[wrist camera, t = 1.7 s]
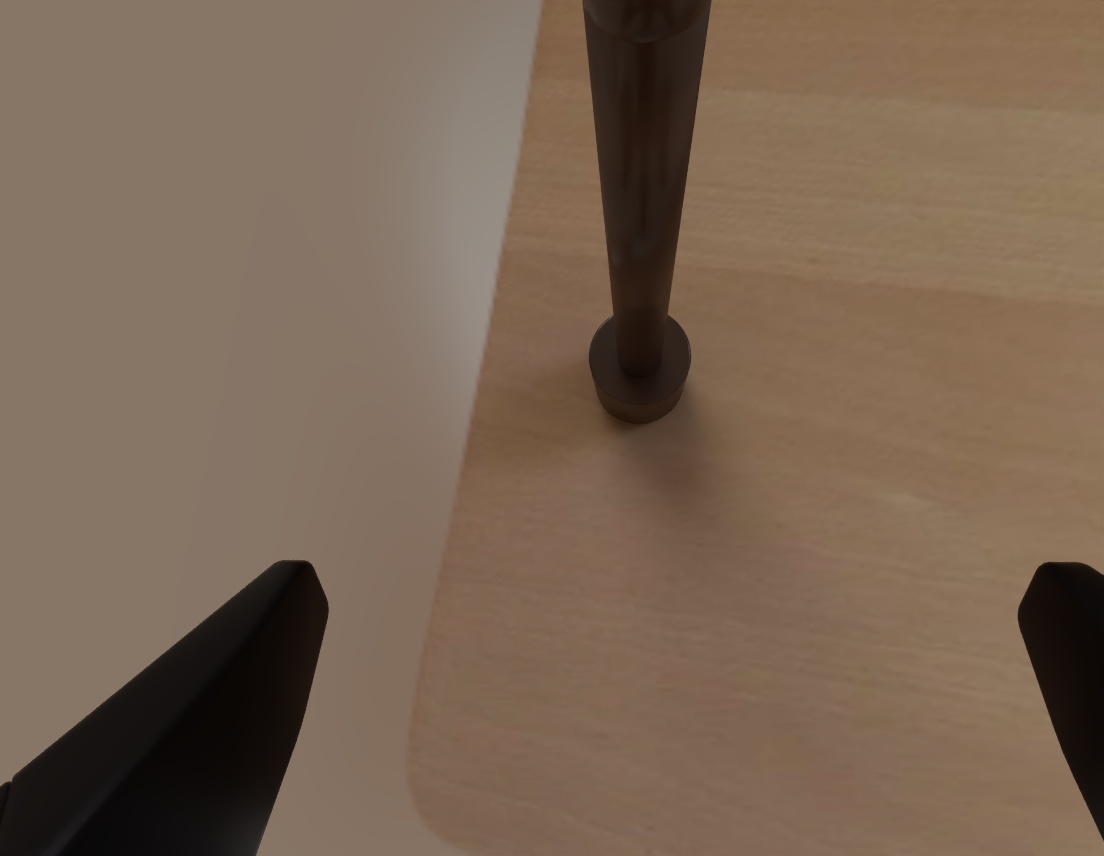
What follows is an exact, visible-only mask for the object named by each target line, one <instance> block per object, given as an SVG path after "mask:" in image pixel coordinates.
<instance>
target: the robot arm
mask: <svg viewBox="0 0 1104 856" xmlns="http://www.w3.org/2000/svg"><path fill="white" fill-rule="evenodd" d="M328 612H329V608H328V601H327V598H326V595H325V593H324V591H323V588H322V586H321V584H320V581H319V579H318V577H317V574H316V572H315V569H314V568H313V566H312V564H311V563H309V562H308V561H305V560H282V561H279V562H276V563H274V564H273V565H272V566H270V567H269V568H268V569H267V570H266V571H264V572H263V573H262V574H261V575H259V576H258V577H257V578H256V579H254V580H253V581H252V582H251V583H250V584H248V585H247V586H246V587H245V588H243V589H242V590H241V591H240V592H239V593H237V594H236V595H235V596H234V597H232V598H231V599H230V600H229V601H228V602H226V603H225V604H224V605H223V606H221V607H220V608H219V609H218V610H216V611H215V612H214V613H213V614H212V615H210V616H209V617H208V618H207V619H205V620H204V621H203V622H202V623H200V624H199V625H198V626H197V627H196V628H194V629H193V630H192V631H191V632H189V633H188V634H187V635H186V636H185V637H183V638H182V639H181V640H180V641H178V642H177V643H176V644H175V645H174V646H172V647H171V648H170V649H169V650H167V651H166V652H165V653H164V654H162V655H161V656H160V657H159V658H158V659H156V660H155V661H154V662H153V663H151V664H150V665H149V666H148V667H146V668H145V669H144V670H143V671H142V672H140V673H139V674H138V675H137V676H136V677H134V678H133V679H132V680H131V681H129V682H128V683H127V684H126V685H124V686H123V687H122V688H121V689H120V690H118V691H117V692H116V693H115V694H113V695H112V696H111V697H110V698H108V699H107V700H106V701H105V702H104V703H102V704H101V705H100V706H99V707H97V708H96V709H95V710H94V711H93V712H91V713H90V714H89V715H88V716H86V717H85V718H84V719H83V720H82V721H80V722H79V723H78V724H77V725H75V726H74V727H73V728H72V729H71V730H69V731H68V732H67V733H66V734H65V735H63V736H62V737H61V738H59V739H58V740H57V741H56V742H55V743H53V744H52V745H51V746H50V747H48V748H47V749H46V750H45V751H44V752H42V753H41V754H40V755H39V756H37V757H36V758H35V759H34V760H32V761H31V762H30V763H29V764H28V765H26V766H25V767H24V768H23V769H21V770H20V771H19V772H18V773H16V774H15V775H14V777H13V779H12V782H10V781H9V782H6V783H4V784H3V785H2V786H0V856H256V854H257V851H258V848H259V845H260V843H261V840H262V837H263V834H264V831H265V828H266V826H267V823H268V820H269V817H270V814H271V812H272V809H273V806H274V803H275V800H276V798H277V795H278V792H279V789H280V786H281V783H282V781H283V778H284V775H285V772H286V769H287V767H288V764H289V761H290V758H291V755H292V752H293V750H294V747H295V744H296V741H297V738H298V735H299V732H300V729H301V726H302V722H303V718H304V714H305V711H306V707H307V702H308V699H309V694H310V690H311V686H312V682H313V678H314V673H315V669H316V665H317V661H318V657H319V653H320V649H321V645H322V640H323V636H324V631H325V628H326V624H327V619H328ZM1018 623H1019V627H1020V631H1021V634H1022V637H1023V639H1024V642H1025V645H1026V648H1027V651H1028V654H1029V657H1030V660H1031V663H1032V666H1033V669H1034V672H1035V674H1036V677H1037V680H1038V683H1039V686H1040V689H1041V692H1042V695H1043V698H1044V701H1045V704H1046V707H1047V710H1048V712H1049V715H1050V718H1051V721H1052V724H1053V727H1054V730H1055V733H1056V735H1057V738H1058V741H1059V743H1060V746H1061V749H1062V751H1063V754H1064V756H1065V758H1066V760H1067V763H1068V765H1069V767H1070V770H1071V772H1072V774H1073V776H1074V778H1075V781H1076V783H1077V785H1078V787H1079V789H1080V791H1081V793H1082V796H1083V798H1084V800H1085V802H1086V804H1087V806H1088V808H1089V811H1090V813H1091V815H1092V817H1093V819H1094V821H1095V823H1096V825H1097V828H1098V830H1099V832H1100V834H1101V836H1102V838H1103V840H1104V575H1103V574H1101V573H1100V572H1098V571H1097V570H1095V569H1093V568H1092V567H1090V566H1088V565H1086V564H1084V563H1079V562H1046V563H1043V564H1042V565H1041V566H1039V567H1038V568H1037V570H1036V572H1035V574H1034V576H1033V578H1032V580H1031V582H1030V584H1029V587H1028V589H1027V591H1026V593H1025V595H1024V597H1023V599H1022V601H1021V603H1020V606H1019V609H1018Z"/></svg>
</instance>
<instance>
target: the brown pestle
mask: <svg viewBox="0 0 1104 856" xmlns="http://www.w3.org/2000/svg"><path fill="white" fill-rule="evenodd" d="M710 7H711V0H583V10H584V20H585V30H586V40H587V51H588V61H589V71H590V81H591V91H592V101H593V111H594V121H595V132H596V142H597V152H598V162H599V172H600V182H601V192H602V203H603V213H604V223H605V233H606V243H607V253H608V263H609V273H610V284H611V294H612V304H613V314H614V315H613V316H611V317H610V318H608V319H607V320H606V321H605V322H604V323H603V324H602V325H601V326H600V327H599V329H598V330H597V331H596V333H595V335H594V337H593V339H592V342H591V346H590V351H589V364H590V369H591V373H592V377H593V380H594V384H595V388H596V392H597V395H598V397H599V399H600V401H601V403H602V405H603V406H604V407H605V408H606V410H607V411H608V412H610V413H611V414H612V415H613V416H615V417H616V418H618V419H620V420H623V421H626V422H630V423H638V424H639V423H648V422H652V421H655V420H658V419H660V418H662V417H663V416H665V415H666V414H668V413H669V412H670V411H671V410H672V409H673V408H674V407H675V405H676V404H677V402H678V400H679V399H680V396H681V394H682V391H683V387H684V384H685V381H686V378H687V375H688V371H689V368H690V363H691V349H690V344H689V341H688V338H687V336H686V334H685V332H684V330H683V329H682V327H681V326H680V325H679V324H678V323H677V322H676V321H675V320H674V319H673V318H672V317H670V316H668V315H667V314H668V307H669V300H670V293H671V286H672V279H673V271H674V264H675V257H676V250H677V243H678V236H679V228H680V221H681V214H682V207H683V200H684V193H685V186H686V178H687V171H688V164H689V157H690V150H691V143H692V135H693V128H694V121H695V114H696V107H697V100H698V92H699V85H700V78H701V71H702V64H703V57H704V50H705V42H706V35H707V28H708V21H709V14H710Z"/></svg>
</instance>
